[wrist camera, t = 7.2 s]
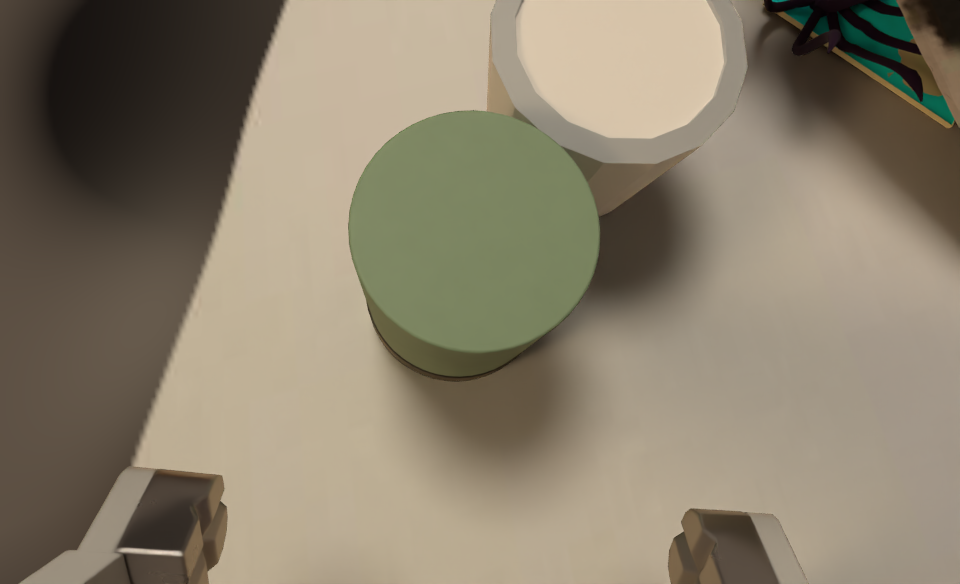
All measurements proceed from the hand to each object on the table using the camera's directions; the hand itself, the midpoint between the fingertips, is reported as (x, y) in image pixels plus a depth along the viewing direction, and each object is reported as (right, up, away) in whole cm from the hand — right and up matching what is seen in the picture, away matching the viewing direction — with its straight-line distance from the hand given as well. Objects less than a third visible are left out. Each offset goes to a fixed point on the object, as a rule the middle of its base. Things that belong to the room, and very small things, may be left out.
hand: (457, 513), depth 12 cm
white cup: (+3, +9, +12) cm, 16 cm away
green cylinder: (0, +4, +11) cm, 11 cm away
